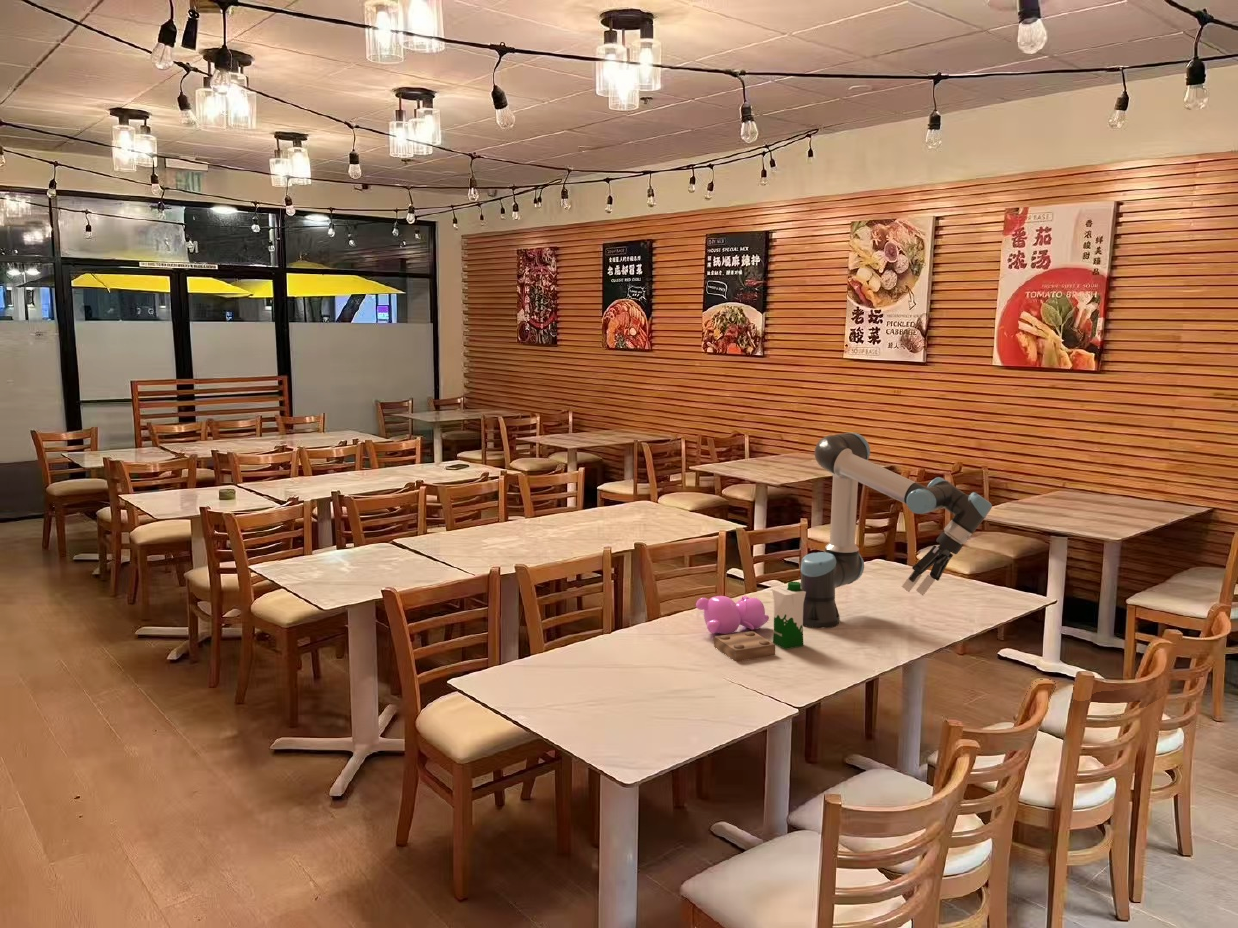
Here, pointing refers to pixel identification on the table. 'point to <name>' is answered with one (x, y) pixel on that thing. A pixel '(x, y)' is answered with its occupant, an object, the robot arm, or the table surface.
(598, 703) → the table surface
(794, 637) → the soya milk
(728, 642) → the base brick
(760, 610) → the toy character
